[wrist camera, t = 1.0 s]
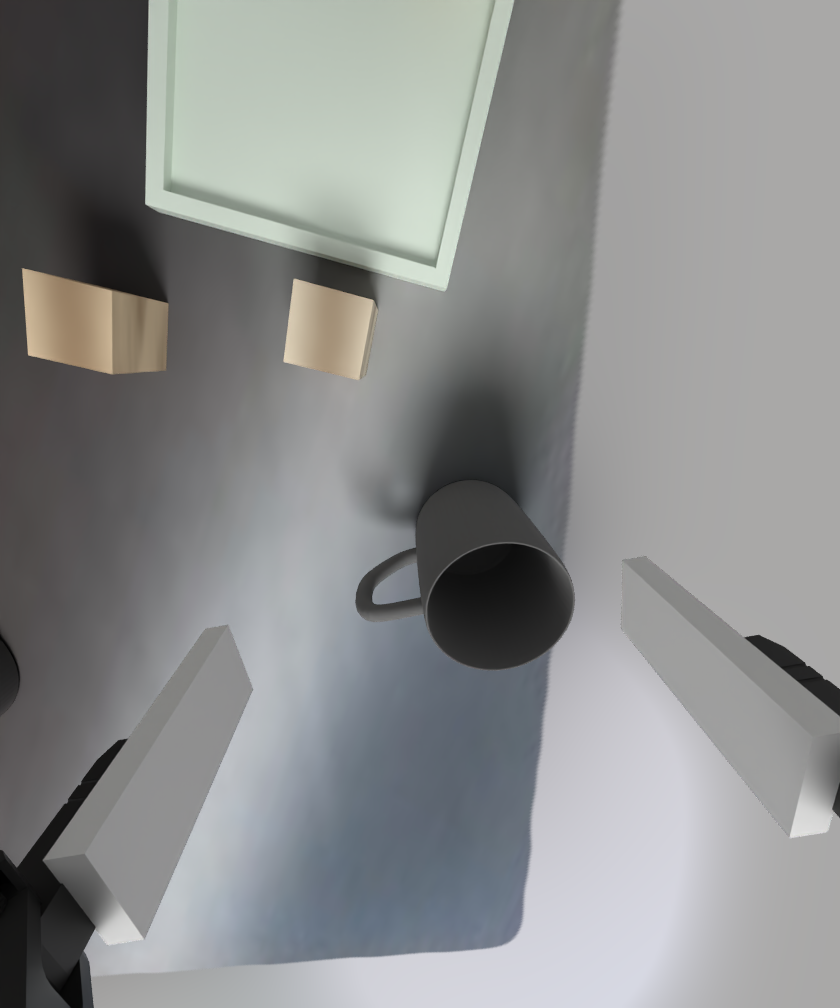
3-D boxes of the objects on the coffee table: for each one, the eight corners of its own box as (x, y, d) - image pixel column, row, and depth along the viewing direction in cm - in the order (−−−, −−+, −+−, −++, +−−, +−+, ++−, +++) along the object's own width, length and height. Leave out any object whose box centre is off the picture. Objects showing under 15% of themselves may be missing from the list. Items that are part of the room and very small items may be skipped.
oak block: (99, 354, 29) (28, 355, 24) (98, 285, 28) (22, 268, 22) (166, 370, 30) (112, 374, 24) (168, 303, 28) (112, 291, 23)
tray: (158, 212, 26) (145, 204, 25) (171, -292, 20) (154, -342, 18) (444, 291, 29) (446, 288, 27) (543, -133, 22) (553, -166, 21)
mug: (513, 466, 34) (572, 523, 22) (526, 563, 37) (583, 656, 25) (350, 501, 34) (327, 574, 23) (376, 594, 37) (367, 700, 26)
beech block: (304, 360, 30) (283, 361, 24) (314, 293, 29) (293, 278, 23) (365, 375, 31) (358, 380, 25) (378, 310, 29) (373, 300, 24)
